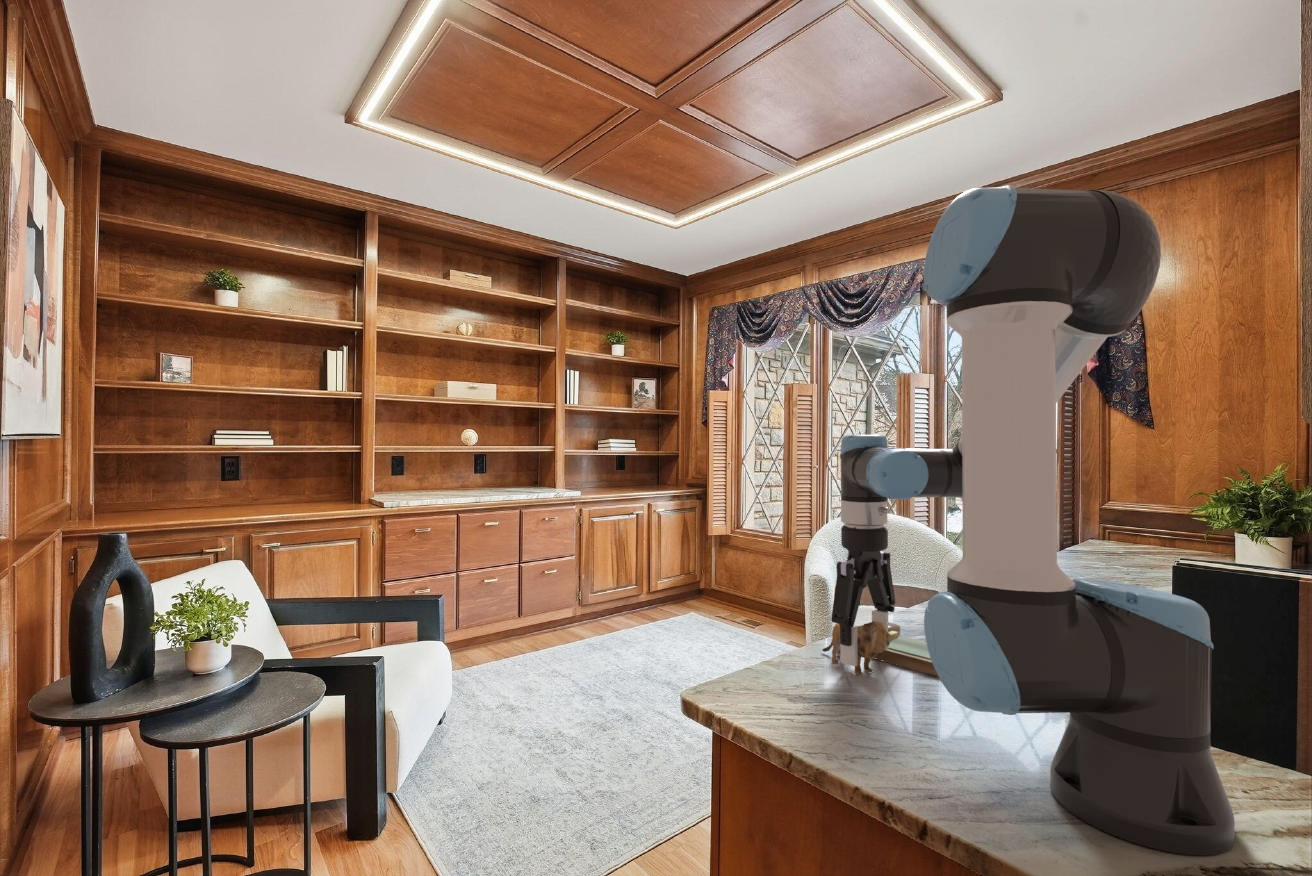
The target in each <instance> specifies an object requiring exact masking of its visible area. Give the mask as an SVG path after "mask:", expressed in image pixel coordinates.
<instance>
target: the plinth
mask: <svg viewBox="0 0 1312 876" xmlns="http://www.w3.org/2000/svg"><path fill="white" fill-rule="evenodd" d="M888 633H889V634H891V635H892V636H893V638H892V641H891V642H890V644H889V646H888V650H887V651H886V650H884V651H882V652H881V653H878V654H877V656H876V657H875V658H877V659H879V660H878V661H881V660H883V661H882V662H885V663H888V662H889V663H888V664H892V665H895V664H897V665H896V666H899V665H901V666H900V667H903V668H906V667H908V668H907V669H909V670H913V669H914V670H915V671H918V672H922V673H925V674H929V675H932V676H936V677H939V676H938V674H937V672H936V670H935V668H934V666H933V663H932V660H931V658H930V654H929V651H928V647H927V643H926V641H922V640H917V639H912V638H909V637H904V636H901V635H900V636H898V632H896V631H890V632H888ZM877 659H876V660H877Z"/></svg>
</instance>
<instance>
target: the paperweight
mask: <svg viewBox="0 0 1312 876" xmlns="http://www.w3.org/2000/svg"><path fill="white" fill-rule="evenodd" d="M890 631H896V632H898V636H901V625H899V624H897V623H893V622H890V621H888V632H890Z"/></svg>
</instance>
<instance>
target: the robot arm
mask: <svg viewBox="0 0 1312 876" xmlns="http://www.w3.org/2000/svg"><path fill="white" fill-rule="evenodd" d="M930 237H931V238H930V240H929V243H928V246H927V250H926V254H925V259H924V266H923V283H924V288H925V289H926V291H927V292H926V293H927V295H928V297H930V299H932V300H934V301H936V302H937V303H939V304H945V303H946V324H947V325H948V326H949V327H950V328H951V329H952V330H954V331H955V332H956V333H957V334H959V336H960V337H961V411H962V413H961V418H962V419H961V421H962V423H961V425H962V426H961V432H962V434H961V437H960V439H959V440H958V441H957V443H956V445H954V447H953V448H915V447H914V448H911V447H909V448H908V447H905V448H904V447H888V440H887V438H886V436H885V435H883V434H846V435H844V436H843V437H842V438H841V441H840V443H841V444H840V453H839V459H840V495H841V496H840V522H841V523H842V524H843V525H842V526H841V528H840V529H841V530H840V532H841V533H840V536H841V537H840V538H841V539H840V541H841V546H842V547H843V548H844V549H846V550H847V551H848V552H847V553H848V554H847V558H846V561H837V563H836V582H835V589H834V598H833V604H832V611H831V620H830V621H831V622H832V623H835V624H837V623H838V624H839V625H840V656H839V657H840V660H839V661H840V663H841V664H846V665H848V666H852V667H855V666H857V665H858V643H857V626H858V625H855V622H856V618H857V614H858V611H859V606H860V602H861V599H862V596H863V595H862V594H863V590H864V588H868V591H869V594H870V597H871V601H872V603H873V607H874V608H875V609H872V610H871V622H873V621H874V622H881V623H883V625H884V628H885V629H886V631H887V632H888V622H889V612H890V613H894V612H895V608H896V607H895V605H896V597H895V590H894V589H895V588H894V584H893V577H892V570H891V553H890V552H887V551H886V550H887V549H888V546H889V537H888V536H889V532H888V531H889V529H888V528H887V527H886V526H885V525H886V524H888V513H889V512H890V509H889V507H888V499H889V500H909V499H912V498H953V499H955V498H958V499H959V498H960V499H961V500H962V557H961V559H960V560H959V561H958V562H957V563H956V564H955V565H953V566H952V568H949V569H948V571H947V573H946V576H947V577H946V578H947V579H946V580H947V581H946V582H947V586H946V590H947V591H942V592H941V591H940V592H939V593H937V594H934V595H933V596H931V597H930V598H929V600H928V602H927V606H926V607H925V609H924V610H925V611H924V616H923V625H924V628H923V629H924V636H925V642H926V643H927V647H928V651H929V654H930V658H931V660H932V663H933V666H934V668H935V670H936V672H937V674H938V676H937V677H938V678H939V679H940V682H941V684H942V685H943V686H944V688H945V689H946V691H947V692H948V693H949V694H950V695H951V697H952V698H953V699H954V700H955V701H957V702H958V703H959V704H960V705H962V706H964V707H965V708H966V709H968V710H971V711H975V712H979V713H980V712H982V713H999V714H1003V715H1007V716H1014V715H1017V714H1055V713H1057V714H1062V713H1063V714H1067V713H1069V719H1068V723H1067V725H1066V728H1065V731H1064V733H1063V735H1062V737H1061V739H1060V742H1059V745H1058V746H1057V749H1056V751H1055V754H1054V756H1053V758H1052V760H1051V764H1050V769H1049V771H1050V776H1049V777H1050V780H1049V782H1050V783H1049V785H1050V791H1051V793H1052V796H1053V797H1054V798H1055V799H1056V800H1057V801H1058V803H1059V804H1061V806H1062V807H1064V808H1065V809H1066V811H1067V810H1068V811H1069V812H1070V813H1071V814H1073V815H1074V816H1076V817H1077V818H1079V819H1080V820H1082V821H1083V822H1085V823H1087V824H1090V825H1091V826H1093V827H1095V828H1097V829H1098V830H1101V831H1102V832H1105V833H1108V834H1110V835H1112V836H1115V837H1117V838H1118V839H1119V838H1120V839H1123V840H1125V841H1128V842H1131V843H1134V844H1138V845H1140V846H1144V847H1147V848H1151V849H1155V850H1160V851H1164V852H1168V853H1169V852H1170V853H1174V854H1183V855H1194V856H1207V855H1216V854H1221V853H1223V852H1226V851H1228V850H1230V849H1231V848H1232V847H1233V846H1234V844H1235V834H1236V833H1235V832H1236V831H1235V829H1236V828H1235V825H1236V824H1235V821H1236V820H1235V816H1234V812H1233V809H1232V805H1231V804H1230V800H1229V798H1228V795H1227V793H1226V790H1225V788H1224V784H1223V782H1222V779H1221V777H1220V774H1219V772H1218V769H1217V766H1216V763H1215V762H1214V759H1213V755H1212V751H1211V750H1212V749H1211V730H1212V729H1211V725H1212V723H1211V722H1212V721H1211V719H1212V717H1211V716H1212V714H1211V713H1212V669H1213V668H1212V665H1213V659H1212V658H1213V650H1214V649H1215V647H1214V644H1213V642H1212V639H1211V637H1212V636H1211V625H1210V624H1211V623H1210V617H1209V613H1208V612H1207V610H1206V609H1205V608H1204V606H1202V605H1201V604H1200V603H1198V602H1196V601H1194V600H1192V599H1190V598H1187V597H1185V596H1181V595H1177V594H1173V593H1169V592H1164V591H1161V590H1157V589H1152V588H1148V587H1143V586H1139V585H1133V584H1128V583H1123V582H1119V581H1117V582H1116V581H1113V580H1112V581H1111V580H1105V579H1101V578H1100V579H1099V578H1093V577H1082V576H1081V577H1075V578H1073V579H1072V578H1070V576H1068V575H1067V574H1066V573H1065V572H1064V571H1063V570H1062V569H1061V568H1060V567H1059V565H1058V531H1057V530H1058V529H1057V528H1058V526H1057V524H1058V523H1057V522H1058V520H1057V518H1058V516H1057V513H1058V511H1057V509H1058V508H1057V501H1058V500H1057V497H1058V496H1057V421H1056V419H1057V418H1056V417H1057V416H1056V415H1057V412H1056V411H1057V410H1056V409H1057V405H1056V404H1057V402H1059V400H1060V399H1061V398H1062V397H1063V396H1064V394H1065V393H1066V391H1067V390H1068V389H1069V387H1071V385H1072V383H1074V381H1075V380H1076V379H1077V377H1078V376H1079V375H1080V374H1081V372H1082V371H1083V370H1084V368H1085V367H1086V366H1087V364H1088V363H1089V362H1090V361H1091V359H1092V358H1093V357H1094V355H1096V353H1097V352H1098V350H1099V349H1100V348H1101V346H1102V345H1103V344H1104V342H1105V341H1106V340H1107V338H1109V337H1114V336H1118V335H1121V334H1123V333H1124V332H1125V331H1126V330H1127V329H1128V327H1129V326H1130V325H1131V323H1133V321H1134V320H1135V318H1137V316H1138V315H1139V313H1140V312H1141V311H1142V309H1143V307H1144V306H1145V305H1146V303H1147V301H1148V299H1149V297H1150V296H1151V293H1152V291H1153V289H1154V286H1155V284H1156V282H1157V277H1158V275H1159V270H1160V268H1161V259H1162V258H1161V257H1162V253H1161V252H1162V248H1161V238H1160V235H1159V232H1158V228H1157V227H1156V223H1155V222H1154V220H1153V218H1152V216H1151V215H1150V214H1149V213H1148V212H1147V210H1146V209H1145V208H1144V207H1143V206H1142V205H1141V204H1139V203H1138V202H1136V201H1135V199H1132V198H1130V197H1128V196H1126V195H1124V194H1121V193H1117V192H1114V191H1109V190H1101V189H1099V190H1098V189H1095V190H1094V189H1091V190H1090V189H1089V190H1077V189H1076V190H1073V189H1054V188H1053V189H1052V188H1050V189H1048V188H1027V187H1014V186H1013V185H1008V184H1007V185H1003V186H1000V187H977V188H971V189H969V190H965V191H964V192H963V193H961V194H959V195H958V196H957V197H956V198H955V199H954V200H953V201H951V202H950V204H949V205H948V206H947V207H946V209H945V210H944V212H943V213H942V215H941V216H940V218H939V219H938V221H937V223H936V226H935V228H934V230H933V232H932V234H931V236H930ZM885 650H886V651H887V650H888V646H886V648H885Z"/></svg>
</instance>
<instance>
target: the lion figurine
mask: <svg viewBox="0 0 1312 876" xmlns="http://www.w3.org/2000/svg"><path fill="white" fill-rule="evenodd" d="M856 626H857V643H858V665H857V666H854V675H855V674H856V675H855V676H858V675H861V676H863V675H864V674H863V672H862V668H861V662H862V658H864V660H863V670H864V671H865V672H866V671H867V672H866V673H868V672H872V671H874V670H873V668H871V667H870V663H871V660H872V659H874V658H875V657H876V656H877V654H878V653H881V652H882V651H884V650H885V648H886V646H889V644H890V642H891V641H892V638H893V636H892V635H891V634H889V633H888V632H887V631H886V629H885V628H884V625H883V623H881V622H874V621H873V622H872V621H871V622H868V623H863V624H862V625H856ZM831 634H832V635H831V637H832V639H831V641H830V644H829V645H828V646H827V647H824V648H822V649H821V650H822V651H823V652H825V653H826V652H829V651H830V650H831V649H832V651H831V655H832V657H831V663H833V664H838V663H839V661H840V660H839V659H838V657H840V625H839V624H838V623H835V624H834V626H833V628H832V632H831ZM837 656H838V657H837ZM872 673H873V672H872ZM862 674H863V675H862Z"/></svg>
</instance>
